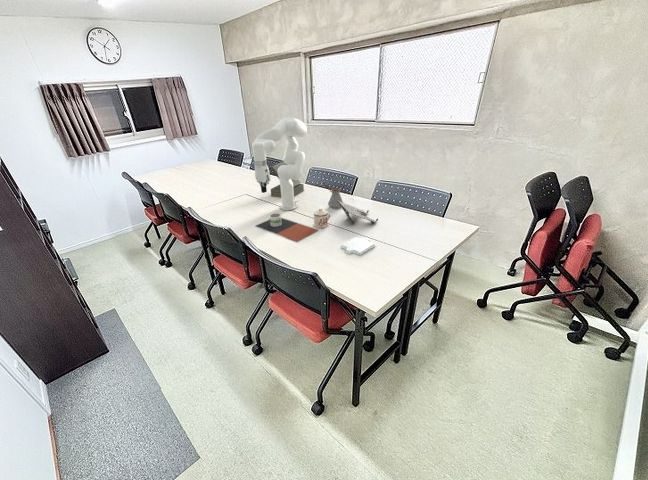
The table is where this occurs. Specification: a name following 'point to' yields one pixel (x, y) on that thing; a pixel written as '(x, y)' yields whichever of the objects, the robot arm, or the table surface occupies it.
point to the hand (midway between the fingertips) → (264, 192)
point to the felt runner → (289, 229)
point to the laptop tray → (354, 212)
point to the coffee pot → (334, 198)
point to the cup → (275, 220)
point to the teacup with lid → (320, 218)
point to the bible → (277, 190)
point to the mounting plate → (357, 245)
